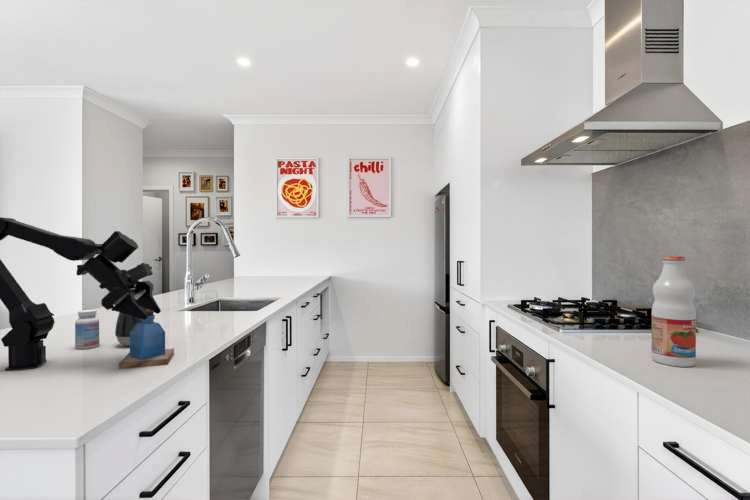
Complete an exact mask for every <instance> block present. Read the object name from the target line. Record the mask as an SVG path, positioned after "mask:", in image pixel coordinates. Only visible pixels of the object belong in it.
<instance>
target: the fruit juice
mask: <svg viewBox="0 0 750 500" xmlns="http://www.w3.org/2000/svg"><path fill="white" fill-rule="evenodd" d="M661 263H662V264H663V266H662V270H661V273H660V275H659V277H658V278H657V279H656V281H655V282H654V283H653V285H652V294H653V297H654V300H653V303H652V307H651V350H650V351H651V353H650V354H651V359H652V361H654V362H656V363H657V364H662V365H666V366H672V367H680V368H690V367H694V366H695V365H696V362H697V361H696V357H697V355H696V353H697V352H696V351H697V346H696V344H697V339H696V338H697V331H696V330H697V325H696V324H697V312H696V307H695V305H694V299H695V297H696V287H695V285H694V283H693V282H692V281H691V280H690V279H689V277H688V276H687V272H686V270H685V263H686V257H685V256H678V255H677V256H676V255H675V256H673V255H668V256H667V255H666V256H664V255H663V256H662V258H661Z"/></svg>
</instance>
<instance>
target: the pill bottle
mask: <svg viewBox="0 0 750 500" xmlns="http://www.w3.org/2000/svg"><path fill="white" fill-rule="evenodd" d="M77 316H78V318H77V319H76V320H75V323H74V348H75V349H77V350H87V349H88V350H89V349H94V348H98V347H99V346H100V319H99V318H98V317H97V310H96V309H85V310H84V309H83V310H78V312H77Z"/></svg>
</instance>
